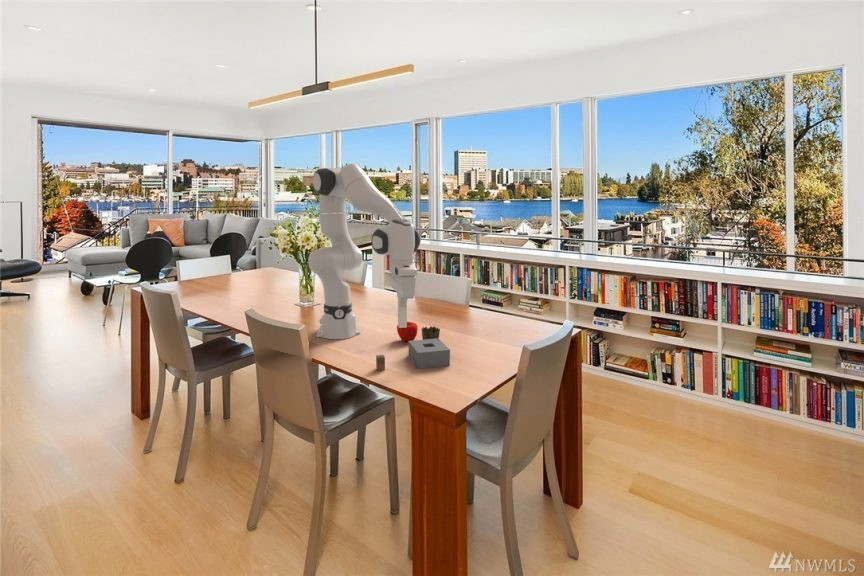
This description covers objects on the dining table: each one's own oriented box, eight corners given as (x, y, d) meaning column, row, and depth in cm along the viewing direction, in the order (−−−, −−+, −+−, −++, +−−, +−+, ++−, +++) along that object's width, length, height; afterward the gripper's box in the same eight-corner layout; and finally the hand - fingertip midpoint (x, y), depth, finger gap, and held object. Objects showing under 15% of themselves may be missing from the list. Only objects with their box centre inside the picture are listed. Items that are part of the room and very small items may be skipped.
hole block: (408, 355, 183) (408, 340, 181) (438, 352, 186) (438, 338, 185) (418, 368, 169) (418, 352, 168) (449, 365, 173) (450, 349, 172)
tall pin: (397, 325, 169) (397, 293, 166) (405, 325, 169) (404, 292, 167) (399, 327, 166) (399, 294, 164) (406, 327, 167) (406, 294, 164)
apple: (394, 338, 203) (394, 321, 202) (414, 336, 206) (414, 319, 204) (399, 345, 195) (399, 326, 193) (420, 343, 198) (420, 325, 196)
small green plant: (423, 351, 188) (424, 331, 186) (419, 345, 195) (419, 326, 193) (441, 349, 190) (442, 330, 188) (436, 344, 197) (437, 325, 195)
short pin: (376, 368, 169) (376, 355, 168) (383, 367, 170) (383, 354, 169) (377, 371, 167) (377, 357, 166) (384, 370, 168) (384, 357, 167)
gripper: (387, 262, 172) (387, 299, 175) (399, 272, 153) (399, 313, 156) (403, 262, 174) (404, 298, 177) (418, 271, 155) (418, 312, 158)
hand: (402, 305), depth 166 cm, fingers closed on tall pin, 3 cm apart
